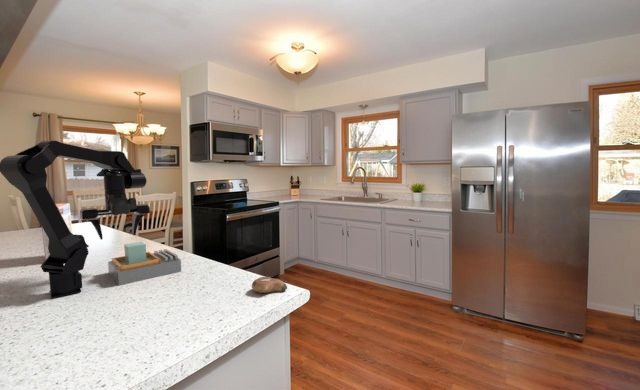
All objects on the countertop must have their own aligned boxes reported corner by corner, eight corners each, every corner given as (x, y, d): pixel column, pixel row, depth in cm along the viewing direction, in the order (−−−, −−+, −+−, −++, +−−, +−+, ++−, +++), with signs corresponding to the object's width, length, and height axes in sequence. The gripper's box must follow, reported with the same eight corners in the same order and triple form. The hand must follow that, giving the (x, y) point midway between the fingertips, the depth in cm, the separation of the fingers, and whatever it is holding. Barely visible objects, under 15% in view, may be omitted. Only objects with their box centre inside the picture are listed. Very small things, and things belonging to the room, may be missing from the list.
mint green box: (129, 265, 98) (128, 247, 98) (123, 260, 104) (122, 243, 103) (146, 262, 102) (145, 244, 101) (140, 257, 107) (139, 240, 107)
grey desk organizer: (118, 285, 92) (117, 268, 92) (108, 273, 103) (107, 258, 103) (181, 271, 105) (180, 256, 104) (166, 261, 116) (165, 248, 115)
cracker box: (56, 254, 127) (52, 203, 125) (74, 252, 130) (71, 202, 128) (43, 263, 114) (38, 207, 113) (64, 261, 117) (59, 206, 115)
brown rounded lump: (269, 303, 82) (289, 293, 88) (270, 288, 81) (290, 279, 88) (246, 291, 87) (267, 282, 94) (247, 277, 86) (268, 270, 93)
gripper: (83, 193, 90) (87, 246, 91) (153, 189, 102) (156, 236, 104) (77, 191, 98) (81, 240, 99) (144, 188, 110) (146, 231, 112)
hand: (118, 237), depth 103 cm, fingers open, 9 cm apart
